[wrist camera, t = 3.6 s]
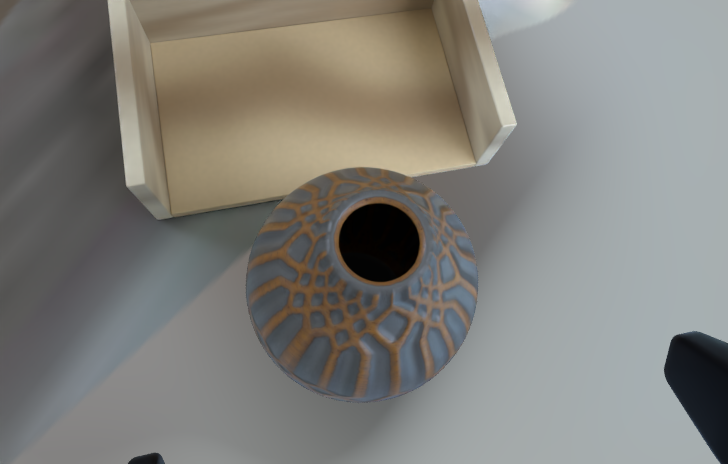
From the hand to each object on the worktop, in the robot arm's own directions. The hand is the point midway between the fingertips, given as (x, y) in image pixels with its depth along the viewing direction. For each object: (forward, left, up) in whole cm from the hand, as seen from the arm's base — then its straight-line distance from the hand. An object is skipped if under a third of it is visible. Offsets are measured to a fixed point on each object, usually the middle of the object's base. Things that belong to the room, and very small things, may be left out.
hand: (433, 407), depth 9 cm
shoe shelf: (+10, -7, -10) cm, 16 cm away
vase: (+3, -2, -11) cm, 11 cm away
